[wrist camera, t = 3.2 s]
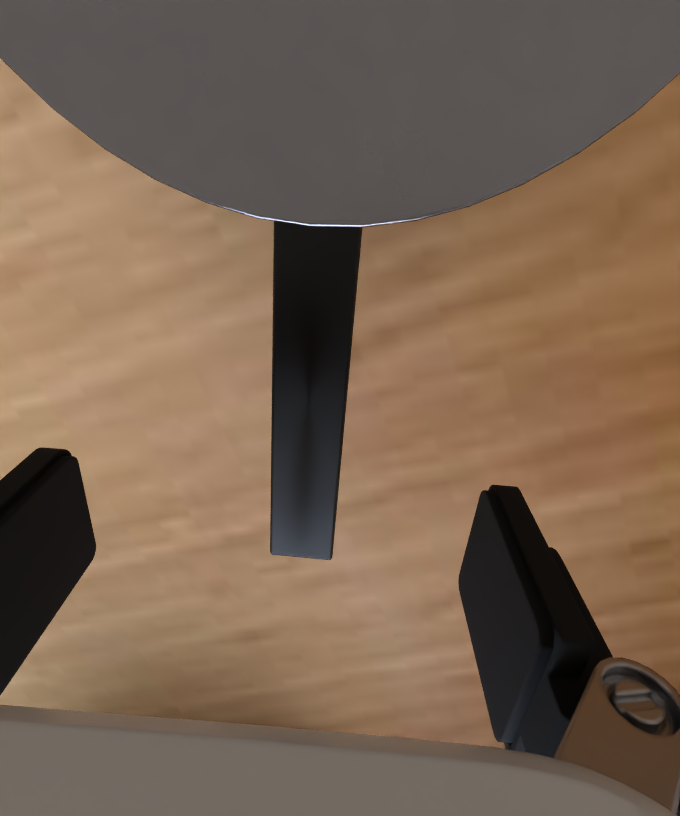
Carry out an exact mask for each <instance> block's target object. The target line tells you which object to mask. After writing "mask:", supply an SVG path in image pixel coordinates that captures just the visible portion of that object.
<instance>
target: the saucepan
mask: <svg viewBox="0 0 680 816" xmlns="http://www.w3.org/2000/svg"><path fill="white" fill-rule="evenodd" d="M0 58H1V59H2V60H3V61H4V62H5V63H6V64H7V65H8V66H9V67H10V68H11V69H12V70H13V71H14V72H15V73H16V74H17V75H18V76H19V77H20V78H21V79H22V80H23V81H24V82H25V83H26V84H28V85H29V86H30V87H31V88H32V89H33V90H34V91H35V92H36V93H37V94H38V95H39V96H40V97H41V98H42V99H43V100H44V101H45V102H46V103H47V104H48V105H49V106H50V107H51V108H53V109H54V110H55V111H56V112H57V113H59V114H60V115H61V116H63V117H64V118H65V119H66V120H68V121H69V122H70V123H72V124H73V125H74V126H75V127H77V128H78V129H79V130H81V131H82V132H83V133H85V134H86V135H87V136H88V137H90V138H91V139H92V140H94V141H95V142H96V143H97V144H99V145H100V146H101V147H103V148H104V149H105V150H107V151H109V152H110V153H112V154H114V155H115V156H117V157H118V158H120V159H122V160H123V161H125V162H127V163H128V164H130V165H132V166H133V167H135V168H137V169H138V170H140V171H142V172H143V173H145V174H146V175H148V176H150V177H151V178H153V179H155V180H157V181H159V182H161V183H163V184H165V185H168V186H170V187H172V188H174V189H177V190H179V191H181V192H183V193H186V194H188V195H190V196H192V197H194V198H197V199H199V200H201V201H203V202H206V203H208V204H211V205H215V206H218V207H221V208H225V209H228V210H231V211H235V212H238V213H241V214H245V215H248V216H251V217H255V218H258V219H264V220H270V221H274V259H273V347H272V435H271V522H270V552H271V554H272V555H282V556H293V557H303V558H314V559H324V560H331V558H332V555H333V544H334V533H335V522H336V511H337V500H338V489H339V478H340V467H341V456H342V445H343V434H344V423H345V412H346V401H347V390H348V379H349V368H350V357H351V346H352V335H353V324H354V313H355V302H356V291H357V280H358V269H359V258H360V247H361V236H362V228H363V227H371V226H379V225H387V224H395V223H403V222H411V221H417V220H421V219H425V218H428V217H432V216H436V215H440V214H444V213H447V212H451V211H455V210H459V209H462V208H466V207H470V206H472V205H474V204H477V203H479V202H482V201H484V200H487V199H489V198H492V197H494V196H496V195H499V194H501V193H504V192H506V191H509V190H511V189H514V188H516V187H518V186H521V185H523V184H525V183H527V182H529V181H530V180H532V179H534V178H536V177H538V176H539V175H541V174H543V173H545V172H547V171H548V170H550V169H552V168H554V167H555V166H557V165H559V164H561V163H563V162H564V161H566V160H568V159H570V158H572V157H573V156H575V155H577V154H579V153H580V152H581V151H583V150H584V149H586V148H587V147H588V146H590V145H591V144H593V143H594V142H595V141H597V140H598V139H600V138H601V137H602V136H604V135H605V134H607V133H608V132H609V131H611V130H612V129H614V128H615V127H616V126H618V125H619V124H620V123H622V122H623V121H625V120H626V119H627V118H629V117H630V116H632V115H633V114H634V113H636V112H637V111H638V110H639V109H640V108H641V107H642V106H644V105H645V104H646V103H647V102H648V101H649V100H650V99H651V98H653V97H654V96H655V95H656V94H657V93H658V92H659V91H660V90H662V89H663V88H664V87H665V86H666V85H667V84H668V83H669V82H671V81H672V80H673V79H674V78H675V77H676V76H677V75H678V74H680V0H0Z"/></svg>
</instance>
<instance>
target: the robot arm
mask: <svg viewBox="0 0 680 816" xmlns="http://www.w3.org/2000/svg"><path fill="white" fill-rule="evenodd" d="M95 551H96V542H95V538H94V533H93V528H92V524H91V519H90V514H89V510H88V505H87V500H86V496H85V491H84V486H83V482H82V477H81V472H80V468H79V463H78V460H77V458H76V457H73V456H71V453H70V452H69V451H68V450H65V449H54V448H38V449H36V450H35V451H34V452H32V453H31V454H30V455H29V456H28V457H27V458H25V459H24V460H23V461H22V462H21V463H20V464H19V465H17V466H16V467H15V468H14V469H13V470H12V471H11V472H9V473H8V474H7V475H6V476H5V477H4V478H2V479H1V480H0V695H1V693H2V692H3V691H4V689H5V688H6V686H7V685H8V684H9V682H10V681H11V679H12V678H13V676H14V675H15V673H16V672H17V670H18V669H19V667H20V666H21V664H22V663H23V661H24V660H25V659H26V657H27V656H28V654H29V653H30V651H31V650H32V648H33V647H34V645H35V644H36V642H37V641H38V639H39V638H40V636H41V635H42V634H43V632H44V631H45V629H46V628H47V626H48V625H49V623H50V622H51V620H52V619H53V617H54V616H55V614H56V613H57V611H58V610H59V609H60V607H61V606H62V604H63V603H64V601H65V600H66V598H67V597H68V595H69V594H70V592H71V591H72V589H73V588H74V586H75V585H76V584H77V582H78V581H79V579H80V578H81V576H82V575H83V573H84V572H85V570H86V569H87V567H88V566H89V564H90V563H91V562H92V560H93V558H94V555H95ZM459 591H460V595H461V599H462V604H463V608H464V612H465V616H466V620H467V625H468V629H469V633H470V637H471V641H472V645H473V650H474V654H475V658H476V662H477V666H478V670H479V675H480V679H481V683H482V687H483V691H484V695H485V700H486V704H487V708H488V712H489V716H490V720H491V725H492V729H493V733H494V736H495V738H496V740H497V741H498V742H504V744H505V748H506V749H501V748H495V747H488V746H478V745H469V744H459V743H450V742H440V741H431V740H421V739H412V738H401V737H390V736H378V735H367V734H355V733H344V732H332V731H320V730H309V729H297V728H286V727H274V726H262V725H250V724H238V723H225V722H213V721H201V720H189V719H176V718H164V717H151V716H139V715H126V714H114V713H100V712H87V711H74V710H61V709H47V708H34V707H21V706H7V705H0V816H680V694H679V693H678V691H677V690H676V689H675V688H674V687H673V686H672V685H671V684H670V683H669V682H668V681H667V680H666V679H665V678H663V677H662V676H660V675H659V674H658V673H656V672H655V671H653V670H652V669H651V668H649V667H647V666H645V665H642V664H640V663H638V662H636V661H633V660H629V659H626V658H613V656H612V654H611V652H610V651H609V649H608V647H607V645H606V643H605V641H604V639H603V637H602V635H601V633H600V631H599V629H598V628H597V626H596V624H595V622H594V620H593V618H592V616H591V614H590V612H589V610H588V608H587V606H586V605H585V603H584V601H583V599H582V597H581V595H580V593H579V591H578V589H577V587H576V585H575V583H574V582H573V580H572V578H571V576H570V574H569V572H568V570H567V568H566V566H565V564H564V562H563V560H562V559H561V557H560V555H559V554H558V552H557V551H556V550H555V549H553V548H551V547H548V545H547V543H546V541H545V539H544V537H543V535H542V533H541V531H540V529H539V527H538V525H537V523H536V521H535V519H534V517H533V515H532V513H531V511H530V509H529V507H528V505H527V503H526V501H525V499H524V497H523V495H522V493H521V491H520V490H519V488H518V487H513V486H501V485H491V486H490V488H489V490H488V491H485V490H483V491H482V492H481V494H480V497H479V501H478V505H477V509H476V513H475V517H474V520H473V524H472V528H471V532H470V536H469V539H468V543H467V547H466V551H465V555H464V558H463V562H462V566H461V570H460V574H459Z"/></svg>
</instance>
